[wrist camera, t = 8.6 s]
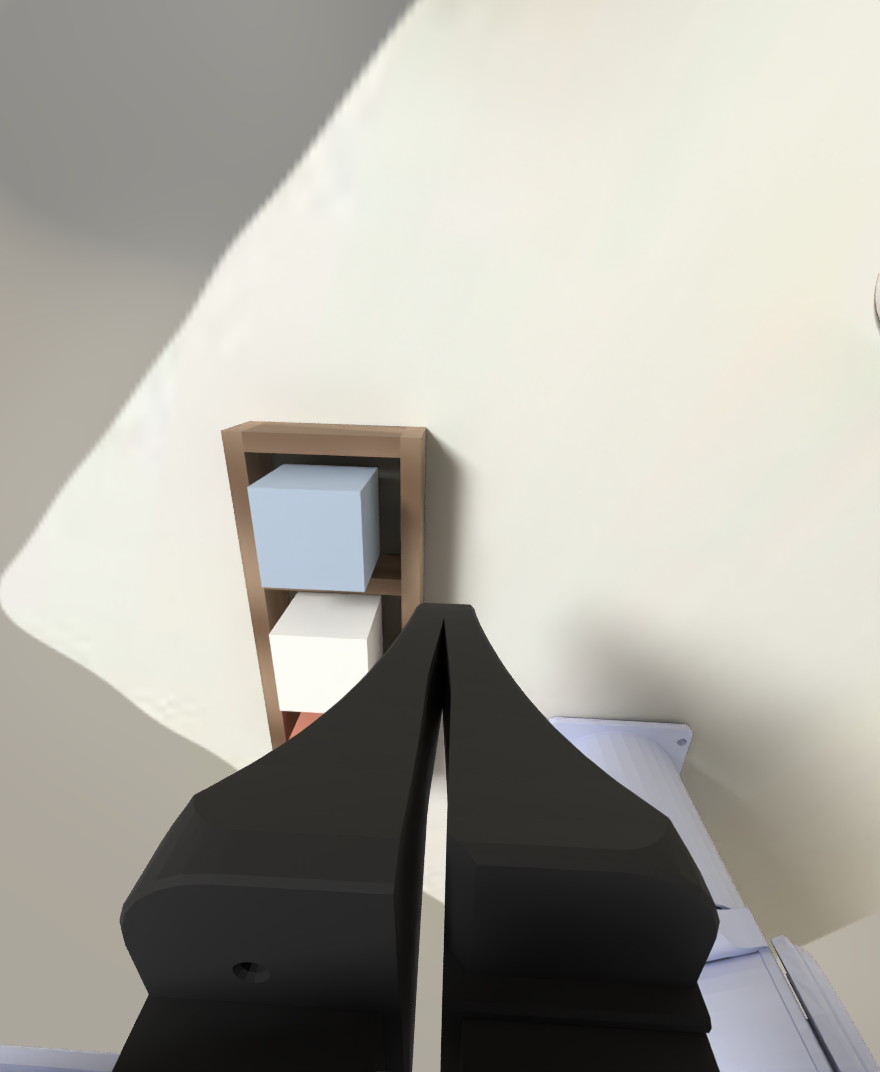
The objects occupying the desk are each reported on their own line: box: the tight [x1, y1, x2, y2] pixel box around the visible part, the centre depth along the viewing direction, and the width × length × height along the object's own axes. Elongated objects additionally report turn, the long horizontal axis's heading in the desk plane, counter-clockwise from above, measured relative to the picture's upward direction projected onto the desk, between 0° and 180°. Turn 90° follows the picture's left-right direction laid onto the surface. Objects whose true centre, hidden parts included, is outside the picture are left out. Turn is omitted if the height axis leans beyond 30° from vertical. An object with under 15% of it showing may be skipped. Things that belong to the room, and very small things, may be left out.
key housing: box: [221, 421, 426, 750], centre depth 22 cm, size 19×8×2 cm, turn 178°
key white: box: [269, 592, 383, 713], centre depth 20 cm, size 4×4×4 cm
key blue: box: [247, 464, 380, 592], centre depth 18 cm, size 4×4×4 cm
